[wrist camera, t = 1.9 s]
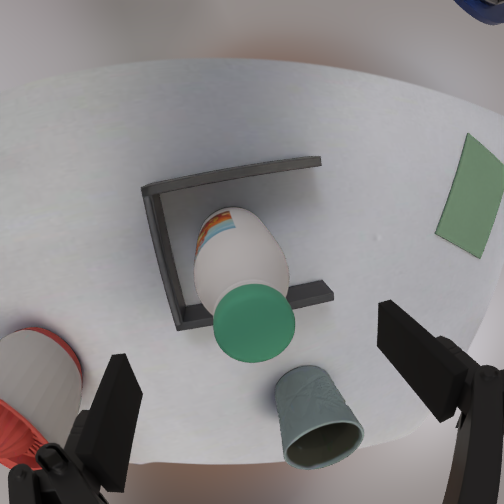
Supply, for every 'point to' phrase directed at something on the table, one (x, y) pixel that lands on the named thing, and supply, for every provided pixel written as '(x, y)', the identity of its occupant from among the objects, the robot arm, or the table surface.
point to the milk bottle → (244, 285)
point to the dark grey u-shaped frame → (181, 314)
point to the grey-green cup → (314, 420)
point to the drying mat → (473, 199)
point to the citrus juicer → (36, 394)
